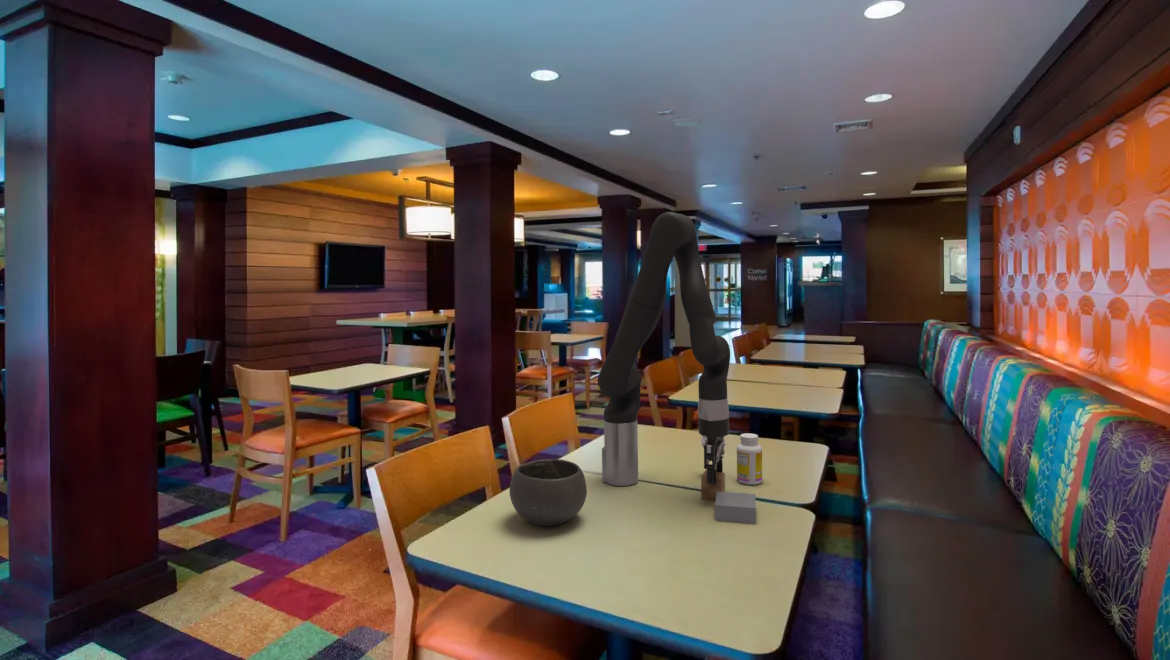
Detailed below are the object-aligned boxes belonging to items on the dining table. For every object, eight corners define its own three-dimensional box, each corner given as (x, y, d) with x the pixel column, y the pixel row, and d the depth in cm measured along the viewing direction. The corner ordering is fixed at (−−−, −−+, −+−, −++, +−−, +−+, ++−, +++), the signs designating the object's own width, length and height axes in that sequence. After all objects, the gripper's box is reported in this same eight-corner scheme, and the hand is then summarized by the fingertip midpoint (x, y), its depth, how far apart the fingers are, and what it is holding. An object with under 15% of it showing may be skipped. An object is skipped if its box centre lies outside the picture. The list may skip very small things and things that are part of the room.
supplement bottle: (759, 477, 165) (759, 432, 164) (764, 485, 159) (764, 438, 158) (735, 477, 166) (735, 432, 165) (738, 485, 159) (738, 438, 158)
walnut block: (701, 500, 150) (701, 476, 150) (705, 493, 155) (705, 470, 154) (721, 502, 148) (721, 478, 148) (724, 495, 153) (724, 472, 152)
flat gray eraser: (715, 521, 137) (715, 504, 137) (717, 507, 146) (717, 491, 146) (755, 525, 135) (755, 508, 135) (755, 510, 144) (755, 494, 143)
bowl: (543, 500, 152) (542, 452, 151) (602, 515, 141) (601, 463, 140) (494, 525, 137) (492, 471, 136) (556, 543, 127) (554, 486, 126)
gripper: (704, 409, 157) (705, 469, 159) (692, 421, 144) (694, 486, 146) (733, 410, 155) (734, 471, 156) (723, 422, 141) (725, 489, 143)
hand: (715, 478), depth 151 cm, fingers open, 8 cm apart
